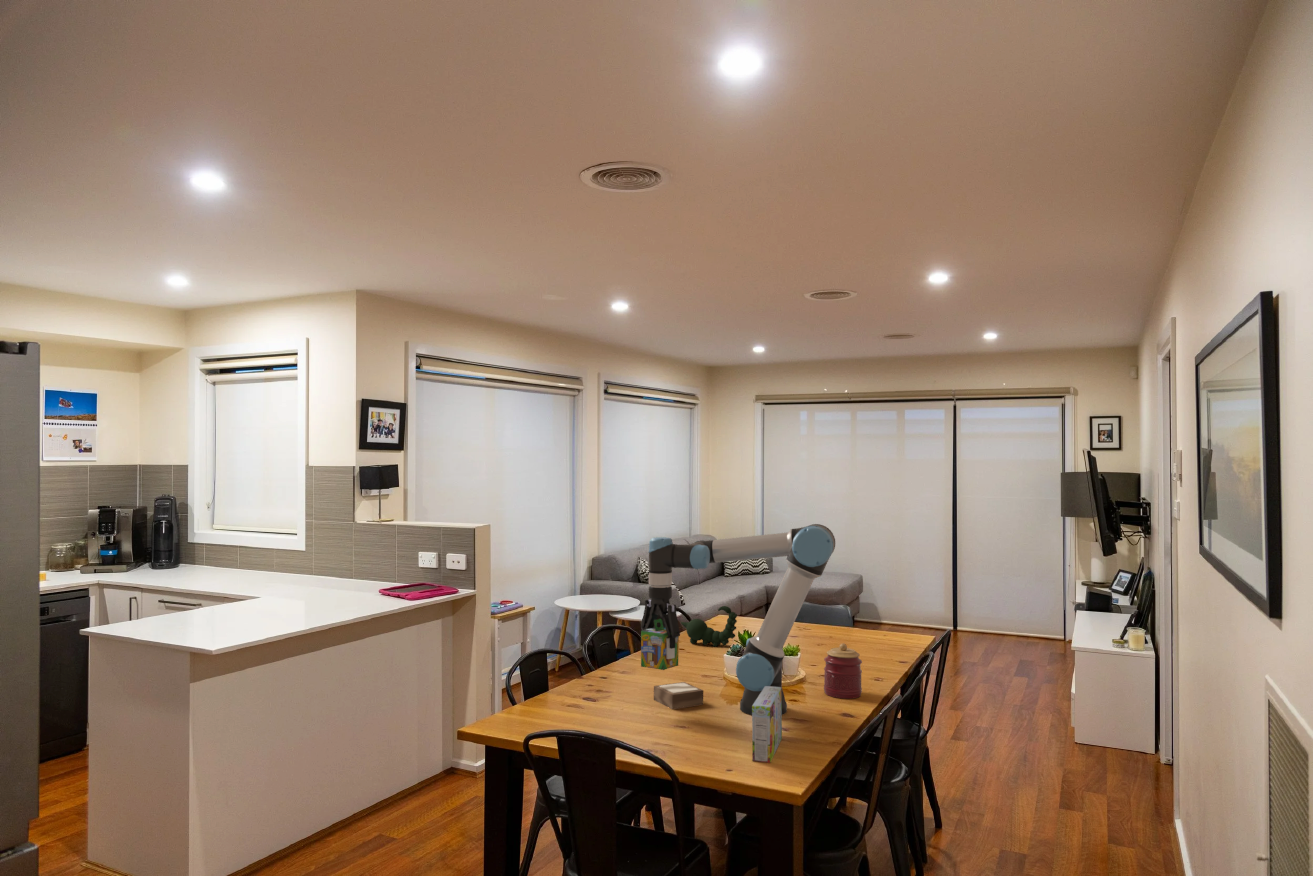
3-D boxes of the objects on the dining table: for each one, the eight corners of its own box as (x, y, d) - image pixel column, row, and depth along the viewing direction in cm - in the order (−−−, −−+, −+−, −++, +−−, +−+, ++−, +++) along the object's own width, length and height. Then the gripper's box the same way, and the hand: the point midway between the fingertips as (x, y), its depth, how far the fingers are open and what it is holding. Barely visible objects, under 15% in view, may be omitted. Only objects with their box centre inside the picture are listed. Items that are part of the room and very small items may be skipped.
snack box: (763, 737, 240) (764, 685, 241) (782, 739, 239) (783, 686, 239) (750, 761, 220) (751, 704, 221) (771, 764, 219) (772, 706, 219)
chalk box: (663, 671, 257) (663, 623, 257) (639, 666, 262) (640, 620, 263) (679, 665, 264) (680, 619, 265) (656, 661, 270) (656, 616, 270)
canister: (832, 687, 297) (833, 638, 297) (867, 693, 289) (867, 643, 290) (817, 695, 286) (818, 644, 287) (853, 701, 279) (853, 649, 279)
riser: (703, 705, 272) (703, 689, 272) (672, 710, 266) (672, 694, 266) (683, 696, 282) (684, 681, 282) (653, 701, 276) (653, 685, 276)
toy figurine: (735, 649, 364) (681, 639, 372) (740, 606, 364) (686, 597, 372) (730, 653, 355) (675, 643, 363) (735, 609, 355) (680, 600, 363)
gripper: (691, 589, 257) (691, 660, 256) (649, 580, 276) (648, 647, 275) (672, 591, 253) (672, 663, 252) (630, 582, 271) (630, 650, 271)
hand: (660, 655), depth 263 cm, fingers closed on chalk box, 10 cm apart
